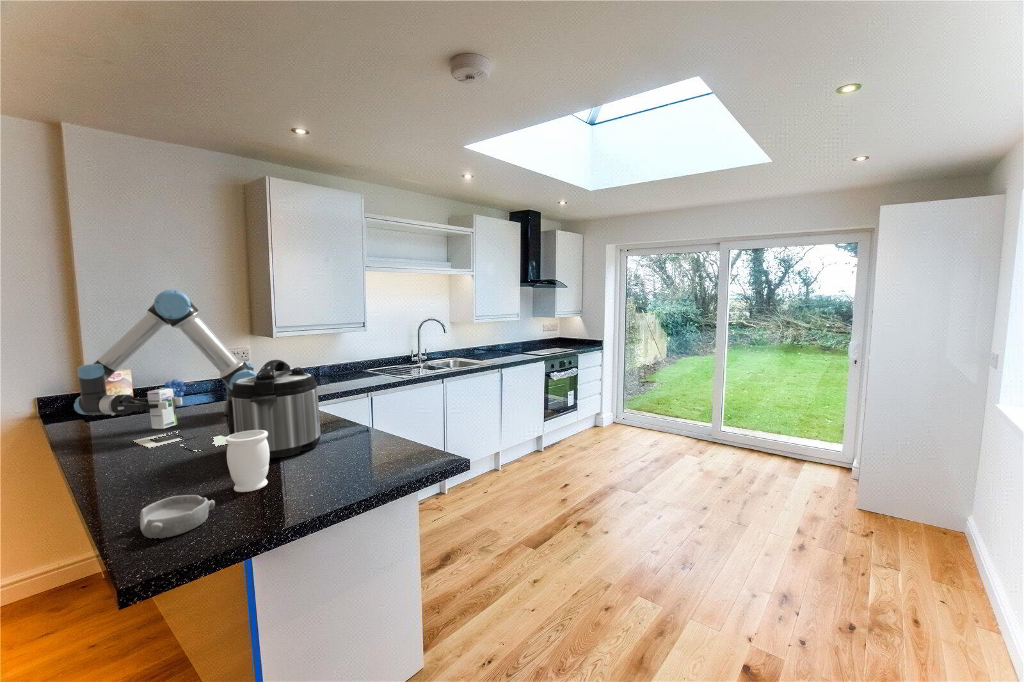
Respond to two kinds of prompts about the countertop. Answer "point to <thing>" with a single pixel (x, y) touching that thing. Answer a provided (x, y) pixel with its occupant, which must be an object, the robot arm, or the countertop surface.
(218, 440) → the mat
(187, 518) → the dish
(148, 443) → the frame
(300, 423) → the pressure cooker
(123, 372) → the coffeecake box
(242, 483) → the jar
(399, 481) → the countertop surface
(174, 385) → the grapes
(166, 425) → the syrup box
